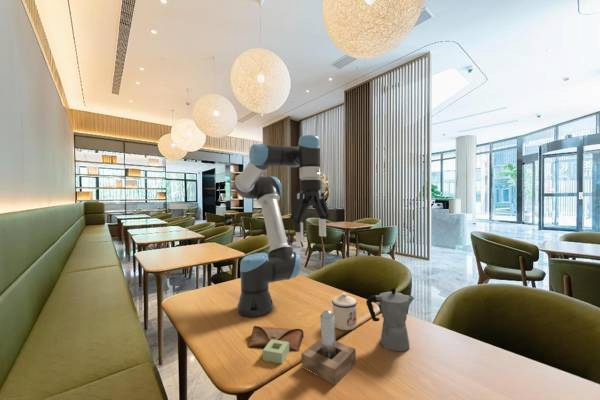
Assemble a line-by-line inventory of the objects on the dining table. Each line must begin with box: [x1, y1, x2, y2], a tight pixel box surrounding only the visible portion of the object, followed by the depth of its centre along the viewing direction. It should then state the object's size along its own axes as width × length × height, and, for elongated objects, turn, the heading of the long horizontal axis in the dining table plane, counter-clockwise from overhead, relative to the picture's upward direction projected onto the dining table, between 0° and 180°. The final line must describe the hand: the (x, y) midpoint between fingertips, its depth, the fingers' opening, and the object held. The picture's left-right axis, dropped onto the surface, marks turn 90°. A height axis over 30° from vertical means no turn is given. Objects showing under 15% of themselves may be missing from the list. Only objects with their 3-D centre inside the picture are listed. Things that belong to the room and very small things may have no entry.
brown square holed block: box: [301, 338, 357, 386], centre depth 72 cm, size 11×11×4 cm
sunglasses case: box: [247, 325, 304, 352], centre depth 84 cm, size 18×7×7 cm, turn 82°
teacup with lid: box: [331, 292, 358, 331], centre depth 95 cm, size 12×9×12 cm
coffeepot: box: [365, 287, 415, 353], centre depth 81 cm, size 15×9×18 cm, turn 90°
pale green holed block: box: [262, 339, 290, 364], centre depth 77 cm, size 6×6×3 cm
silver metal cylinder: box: [320, 309, 336, 360], centre depth 72 cm, size 4×4×16 cm
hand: (311, 238), depth 91 cm, fingers open, 13 cm apart
